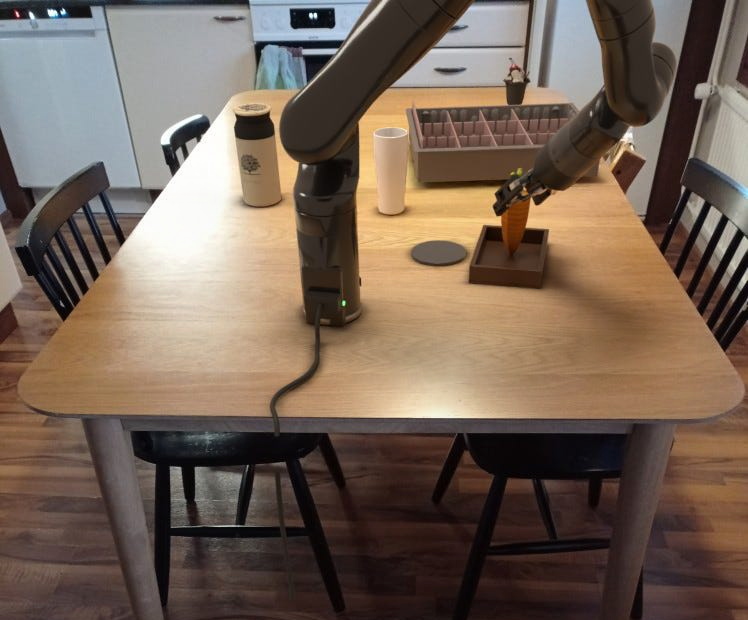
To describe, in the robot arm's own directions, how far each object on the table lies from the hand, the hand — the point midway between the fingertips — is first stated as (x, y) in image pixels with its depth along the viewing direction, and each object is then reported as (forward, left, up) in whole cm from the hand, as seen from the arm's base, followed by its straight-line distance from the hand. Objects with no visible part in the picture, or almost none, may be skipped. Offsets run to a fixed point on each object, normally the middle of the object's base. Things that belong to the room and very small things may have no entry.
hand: (515, 205), depth 133 cm
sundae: (+82, +8, -9) cm, 83 cm away
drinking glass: (+18, +26, -9) cm, 33 cm away
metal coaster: (-1, +13, -9) cm, 16 cm away
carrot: (0, 0, -9) cm, 9 cm away
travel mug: (+19, +54, -9) cm, 58 cm away
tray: (-2, 0, -9) cm, 10 cm away
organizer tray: (+51, +9, -9) cm, 52 cm away
